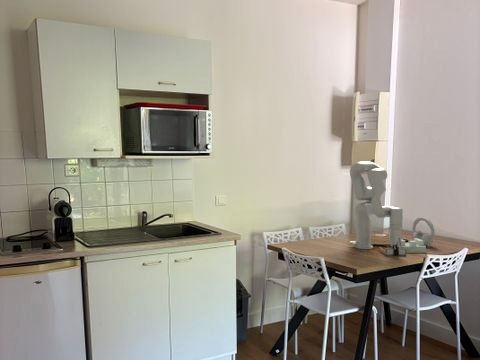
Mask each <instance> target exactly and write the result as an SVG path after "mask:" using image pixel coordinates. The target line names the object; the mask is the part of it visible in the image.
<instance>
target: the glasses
mask: <svg viewBox="0 0 480 360" xmlns="http://www.w3.org/2000/svg"><path fill="white" fill-rule="evenodd" d="M378 251H379V252H380V253H382V254H383V255H385V256H394V255H393V252H394V248H392V247H385V248H382V247H381V246H379V247H378ZM398 256H407V253H406V248H399V255H398Z"/></svg>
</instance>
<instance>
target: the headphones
mask: <svg viewBox="0 0 480 360" xmlns="http://www.w3.org/2000/svg"><path fill="white" fill-rule="evenodd" d="M421 221H424V222H425V223H426V224H427V226H428V227H429V229H430V232H431V233H430V232H425V233H424V232H423V231H422V230H417V229H416V226H417V225H418V224H419V223H420V222H421ZM411 228H412V233H413V234H412V240H414V238H418V239H420V240H423V241H424V244H423V245H424V246H426V248H430V247H431V245H433V244H434V238H435V228H434V224H433V223H432V221H431V220H430V219H428V218H427V217H424V216H422V217H418V218H416V219H414V221H413V224H412V227H411ZM416 230H417V231H416Z"/></svg>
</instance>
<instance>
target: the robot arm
mask: <svg viewBox="0 0 480 360" xmlns="http://www.w3.org/2000/svg"><path fill="white" fill-rule="evenodd" d="M349 175H350V179H351V183H352V187H353V188H352V189H353V193H354V198H355V199H356V200H357V201H359V203H358V204H357V205H356V206H355V209H354V210H355V211H354V212H355V215H356V216H355V217H356V239H355V240H354V241H349V245H354V246H353V247H354V248H356V249H360V250H372V249H374V246H373V245H372V243H371V240H372V239H371V237H372V236H371V235H372V233H371V232H372V222H371V218H370V216H376V217H377V218H378V219H385V218H389V234H388V243H390V244H391V248H394V252H393V255H392V256H393V257H394V256H400V255H399V247H400V245H401V244H402V239H403V235H402V230H403V215H404V214H403V212H404V211H403V208H402V207H398V206H396V207H395V206H392V205H382V202H381V197H382V195H383V194H384V193H385V192H386V191H387V189H386V186H385V184H384V181H385V180H386V179H388V172H387V170H386V169H385V168H383V167H381V166H380V165H378V164H377V163H375V162H372V161H358V162H355V163H353V164H352V165H351V166H350V168H349ZM362 175H367V179H368V182H369V185H370V186H367V185H366V180H365V177H363V176H362Z"/></svg>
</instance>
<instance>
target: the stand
mask: <svg viewBox="0 0 480 360" xmlns="http://www.w3.org/2000/svg"><path fill="white" fill-rule="evenodd" d="M423 244H424V241H423V240H420V239H418V238H414V239H413V240H409V242H406V240H405V239H403V238H402V244H401V245H400V247H399V248H406V254H409V253H411V254H413V253H415V254H416V253H419V254H420V253H426V251H427V246H424V245H423Z"/></svg>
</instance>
